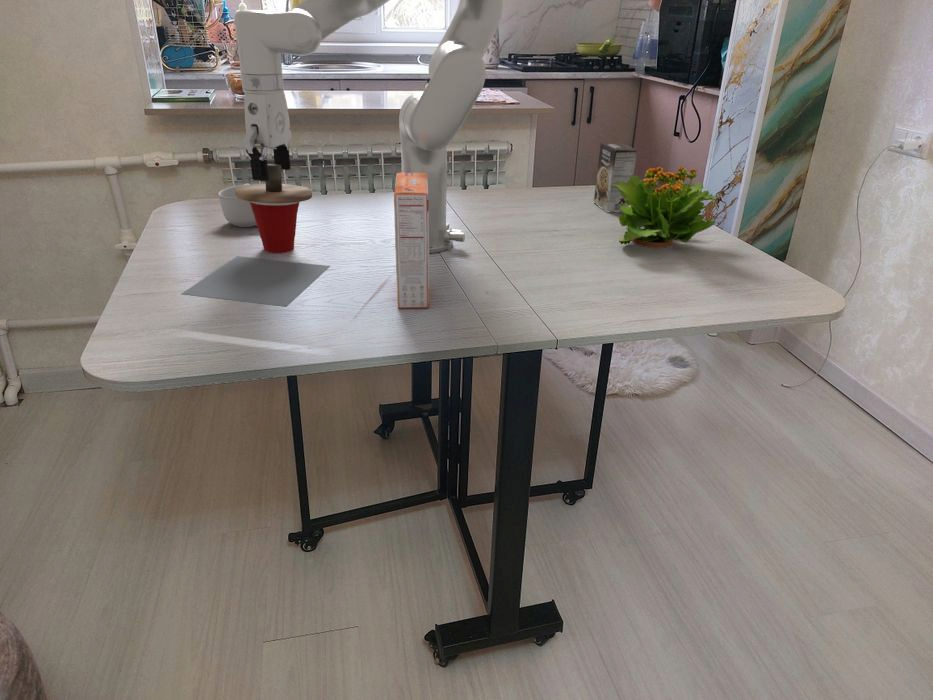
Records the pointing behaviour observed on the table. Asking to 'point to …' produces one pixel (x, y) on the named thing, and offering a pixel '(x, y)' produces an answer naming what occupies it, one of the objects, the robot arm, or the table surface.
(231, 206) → the teacup
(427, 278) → the cracker box
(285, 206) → the plastic cup
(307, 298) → the table surface
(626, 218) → the potted flower
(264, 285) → the mat
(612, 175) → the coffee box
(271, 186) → the lid
